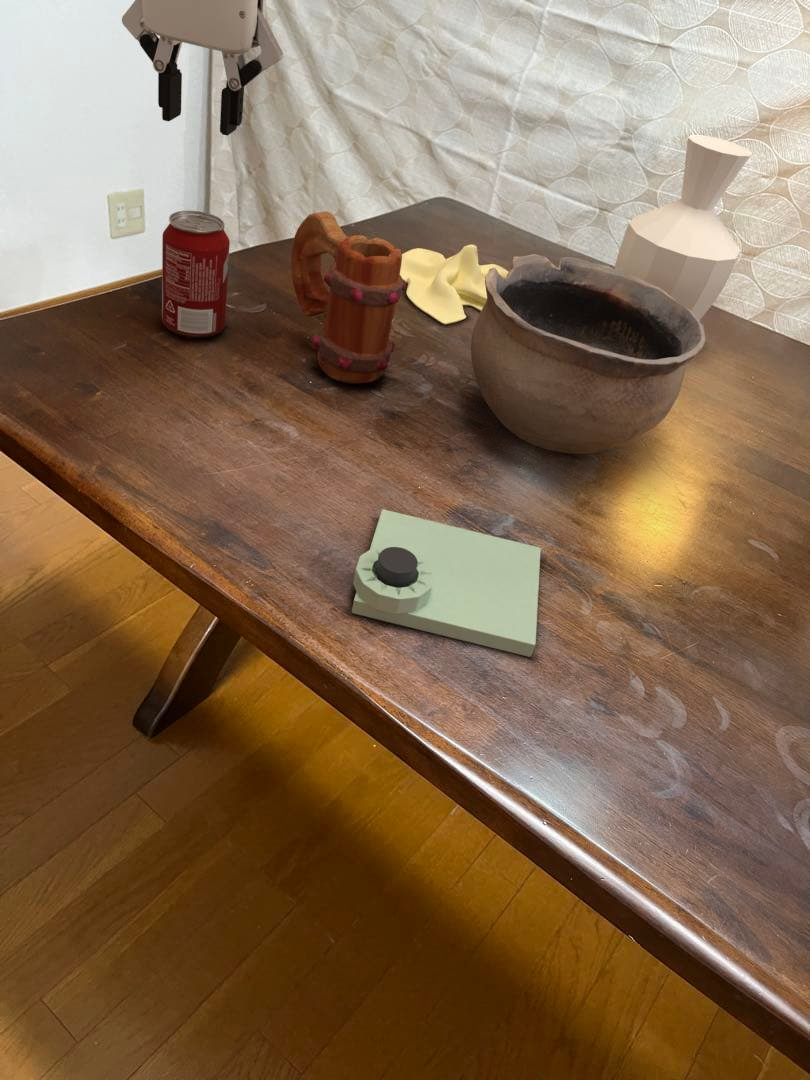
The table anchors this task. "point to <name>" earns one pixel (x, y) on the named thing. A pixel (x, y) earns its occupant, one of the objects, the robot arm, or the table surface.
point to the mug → (347, 297)
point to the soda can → (194, 274)
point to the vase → (688, 230)
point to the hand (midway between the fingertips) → (200, 122)
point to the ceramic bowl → (580, 353)
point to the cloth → (446, 282)
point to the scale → (454, 584)
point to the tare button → (396, 567)
